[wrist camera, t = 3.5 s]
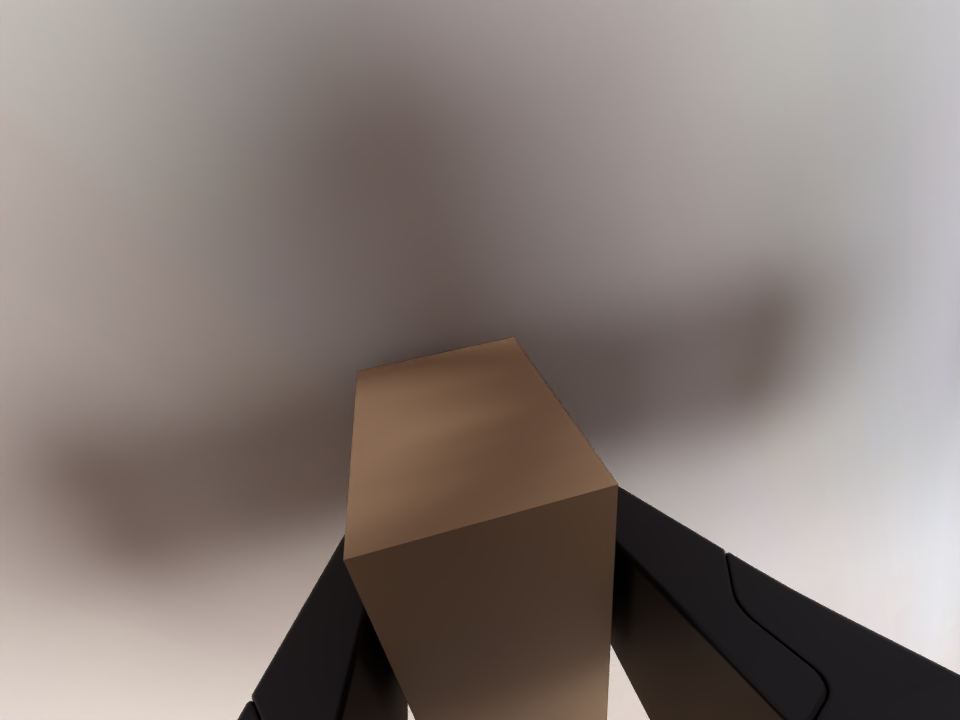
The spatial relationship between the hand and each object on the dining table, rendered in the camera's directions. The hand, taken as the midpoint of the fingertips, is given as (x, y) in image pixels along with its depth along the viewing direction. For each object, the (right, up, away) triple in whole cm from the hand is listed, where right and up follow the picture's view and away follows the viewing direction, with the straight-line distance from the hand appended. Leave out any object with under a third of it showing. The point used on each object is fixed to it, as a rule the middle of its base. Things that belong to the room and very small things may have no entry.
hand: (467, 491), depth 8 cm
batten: (+1, -5, +4) cm, 7 cm away
